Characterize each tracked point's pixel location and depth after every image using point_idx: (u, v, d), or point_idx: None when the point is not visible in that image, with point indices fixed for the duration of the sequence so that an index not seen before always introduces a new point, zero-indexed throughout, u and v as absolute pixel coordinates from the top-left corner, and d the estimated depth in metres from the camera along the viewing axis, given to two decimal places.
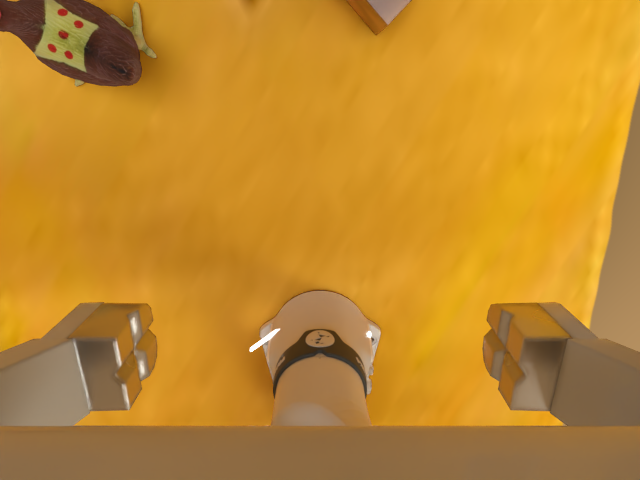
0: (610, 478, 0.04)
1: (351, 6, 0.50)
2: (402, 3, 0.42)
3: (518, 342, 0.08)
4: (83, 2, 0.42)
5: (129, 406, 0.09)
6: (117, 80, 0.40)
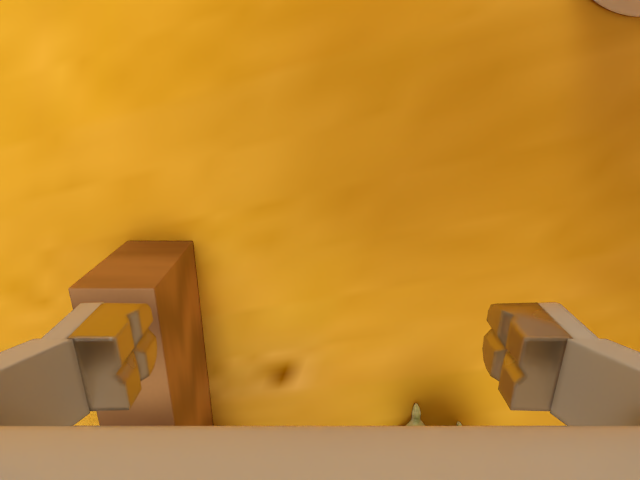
0: (610, 479, 0.04)
1: (197, 286, 0.38)
2: (120, 294, 0.28)
3: (518, 342, 0.08)
4: None
5: (129, 406, 0.09)
6: None
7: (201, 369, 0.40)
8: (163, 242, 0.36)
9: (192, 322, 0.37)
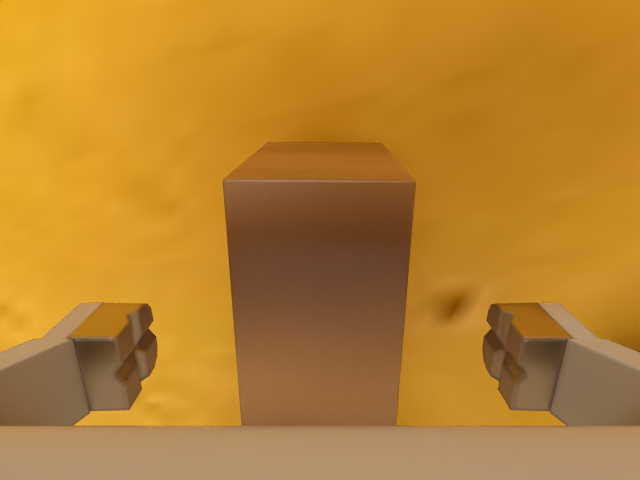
0: (610, 479, 0.04)
1: None
2: (336, 194, 0.13)
3: (518, 342, 0.08)
4: None
5: (129, 406, 0.09)
6: None
7: None
8: (333, 143, 0.21)
9: None
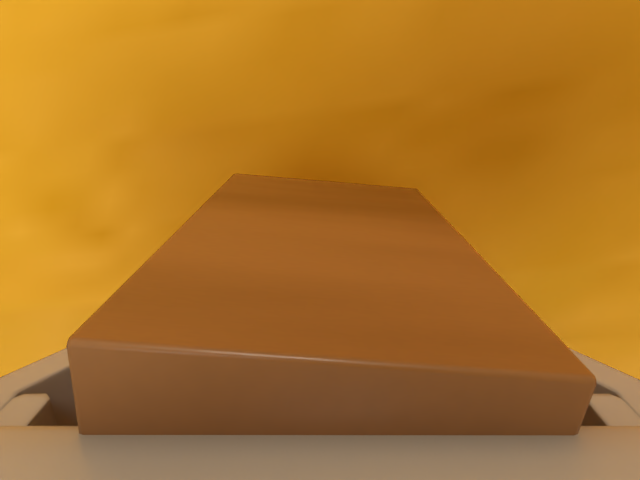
0: (610, 478, 0.04)
1: None
2: (383, 398, 0.05)
3: None
4: None
5: None
6: None
7: None
8: (341, 185, 0.13)
9: None
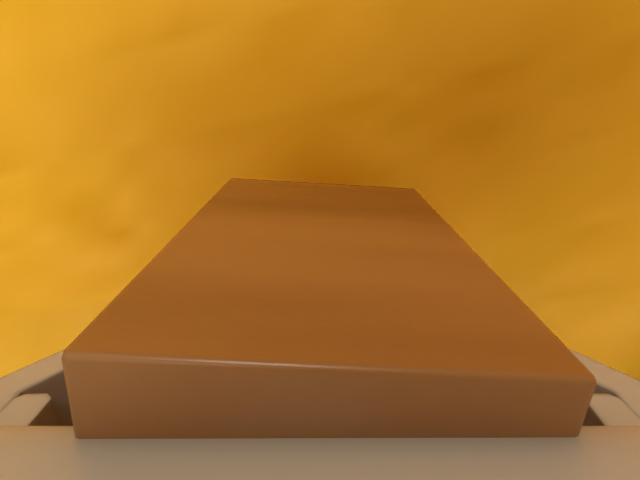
0: (609, 479, 0.04)
1: None
2: (380, 403, 0.05)
3: None
4: None
5: None
6: None
7: None
8: (338, 187, 0.13)
9: None
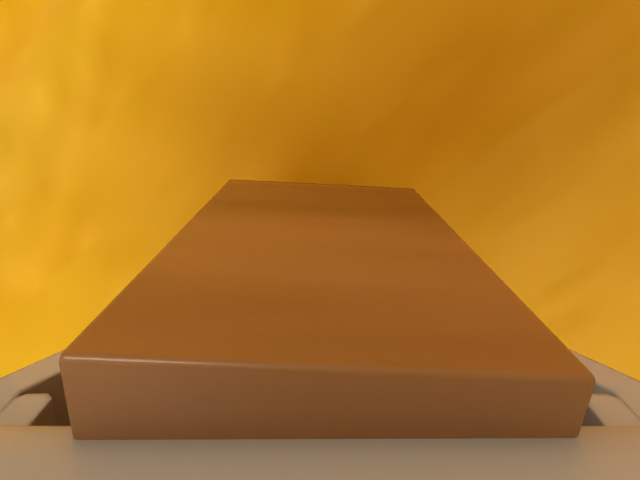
0: (610, 479, 0.04)
1: None
2: (378, 404, 0.05)
3: None
4: None
5: None
6: None
7: None
8: (337, 187, 0.13)
9: None
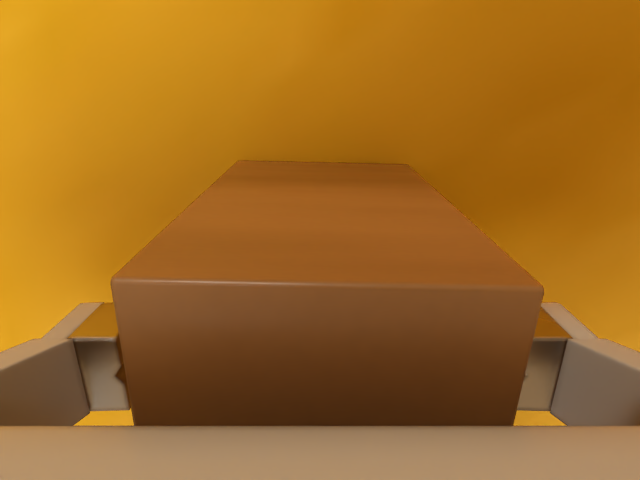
0: (610, 479, 0.04)
1: None
2: (368, 314, 0.06)
3: None
4: None
5: (129, 406, 0.09)
6: None
7: None
8: (337, 164, 0.14)
9: None
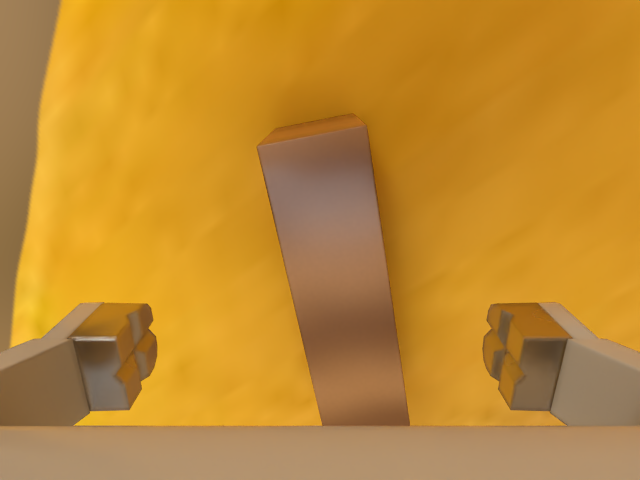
0: (609, 479, 0.04)
1: None
2: (323, 142, 0.22)
3: (518, 342, 0.08)
4: None
5: (129, 406, 0.09)
6: None
7: None
8: (320, 120, 0.30)
9: None
